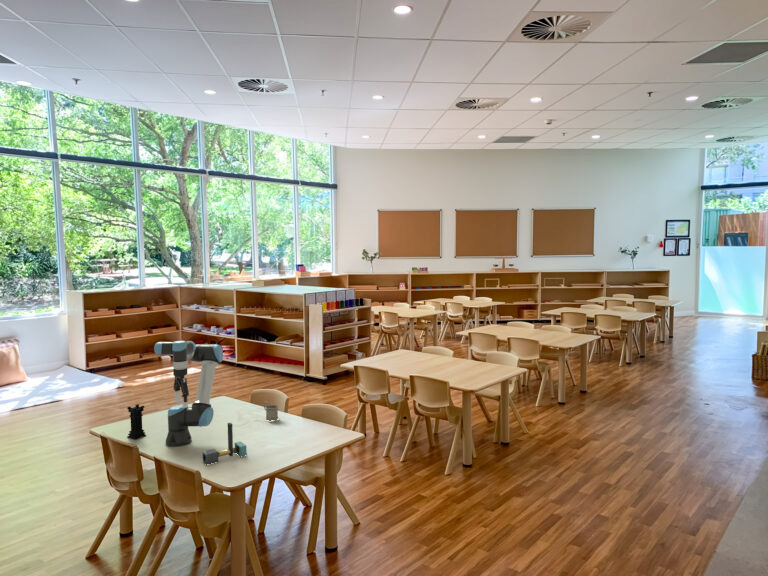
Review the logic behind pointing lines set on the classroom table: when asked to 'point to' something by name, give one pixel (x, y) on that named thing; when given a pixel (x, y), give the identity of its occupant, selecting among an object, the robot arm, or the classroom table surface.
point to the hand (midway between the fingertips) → (181, 404)
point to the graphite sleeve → (210, 456)
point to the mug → (271, 412)
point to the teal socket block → (241, 448)
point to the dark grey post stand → (229, 444)
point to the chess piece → (136, 422)
